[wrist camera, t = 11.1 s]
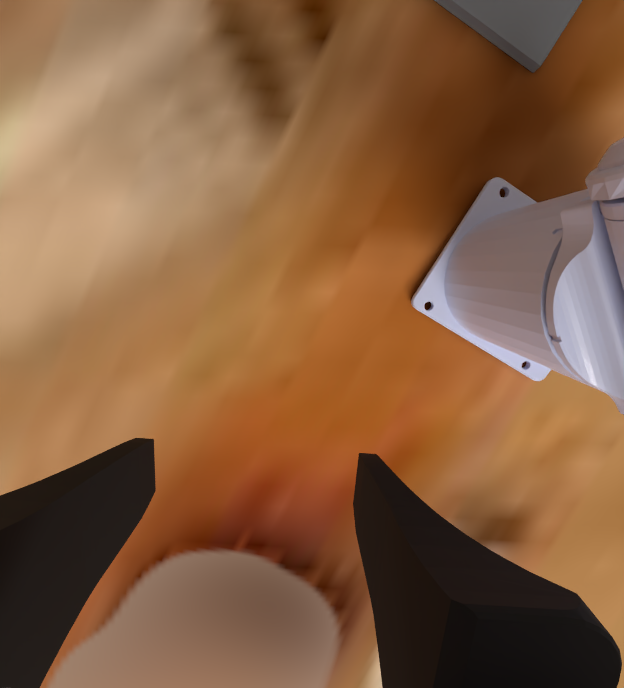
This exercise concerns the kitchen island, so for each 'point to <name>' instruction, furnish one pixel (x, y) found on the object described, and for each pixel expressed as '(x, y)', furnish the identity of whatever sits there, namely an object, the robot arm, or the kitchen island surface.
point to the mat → (517, 24)
